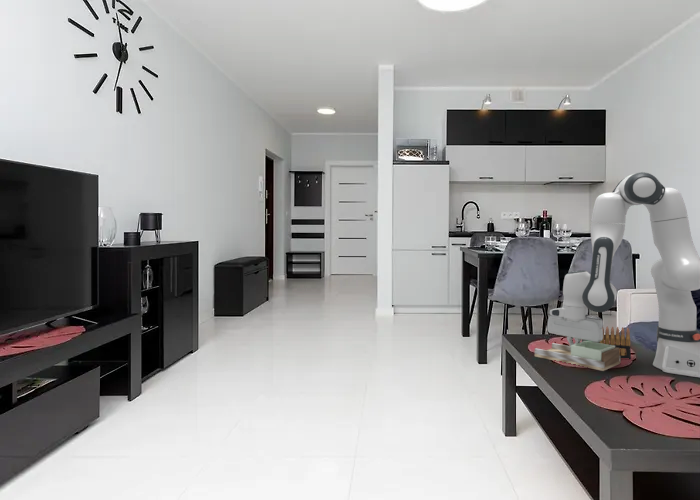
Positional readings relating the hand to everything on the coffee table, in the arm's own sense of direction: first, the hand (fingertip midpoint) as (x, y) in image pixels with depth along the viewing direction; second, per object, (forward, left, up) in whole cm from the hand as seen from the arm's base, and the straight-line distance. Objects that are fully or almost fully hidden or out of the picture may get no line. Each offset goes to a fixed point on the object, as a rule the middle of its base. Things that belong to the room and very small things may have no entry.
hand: (573, 348), depth 183 cm
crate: (-7, 0, -3) cm, 8 cm away
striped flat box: (-1, 0, -4) cm, 4 cm away
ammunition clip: (-9, -14, -4) cm, 17 cm away
